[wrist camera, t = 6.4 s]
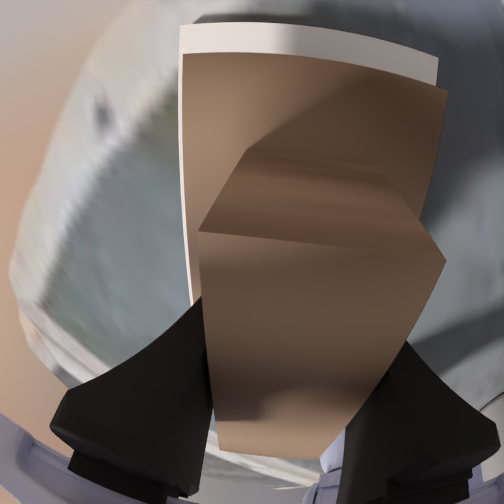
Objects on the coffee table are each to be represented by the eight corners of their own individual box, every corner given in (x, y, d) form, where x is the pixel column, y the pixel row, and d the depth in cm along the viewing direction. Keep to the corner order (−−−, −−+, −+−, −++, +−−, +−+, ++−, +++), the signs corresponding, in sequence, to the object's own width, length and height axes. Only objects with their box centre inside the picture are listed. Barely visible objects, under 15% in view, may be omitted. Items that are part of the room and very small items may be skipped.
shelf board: (339, 379, 16) (341, 474, 11) (208, 365, 17) (183, 458, 12) (432, 87, 7) (564, 125, 2) (195, 56, 8) (71, 45, 3)
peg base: (353, 343, 21) (358, 387, 18) (198, 326, 22) (184, 368, 19) (430, 58, 10) (470, 57, 7) (187, 28, 11) (152, 15, 8)
